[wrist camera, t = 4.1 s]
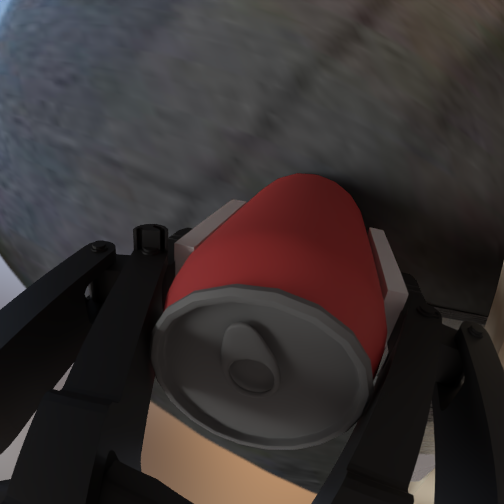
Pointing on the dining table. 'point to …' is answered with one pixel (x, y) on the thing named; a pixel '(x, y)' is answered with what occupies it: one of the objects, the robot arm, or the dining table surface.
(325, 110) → the dining table surface
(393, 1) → the dining table surface
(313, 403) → the beer can
